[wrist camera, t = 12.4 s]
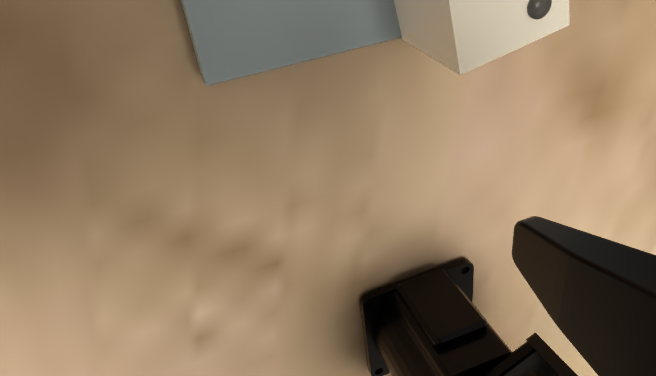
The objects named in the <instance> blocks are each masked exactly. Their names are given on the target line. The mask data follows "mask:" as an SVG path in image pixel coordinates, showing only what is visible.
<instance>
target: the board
mask: <svg viewBox="0 0 656 376" xmlns="http://www.w3.org/2000/svg"><path fill="white" fill-rule="evenodd" d="M181 3H182V7H183V11H184V14H185V18H186V22H187V25H188V29H189V32H190V36H191V40H192V43H193V47H194V51H195V54H196V58H197V62H198V65H199V69H200V73H201V76H202V78H203V80H204V82H205V85H206V86H209V85H213V84H217V83H221V82H225V81H229V80H233V79H237V78H241V77H245V76H249V75H253V74H257V73H261V72H265V71H269V70H273V69H277V68H281V67H285V66H289V65H293V64H297V63H301V62H305V61H309V60H313V59H317V58H321V57H325V56H329V55H333V54H337V53H341V52H345V51H349V50H353V49H357V48H361V47H365V46H369V45H373V44H377V43H381V42H385V41H389V40H393V39H397V38H401V37H402V35H401V31H400V26H399V22H398V17H397V12H396V8H395V3H394V0H181Z"/></svg>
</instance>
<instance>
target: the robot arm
mask: <svg viewBox="0 0 656 376" xmlns="http://www.w3.org/2000/svg"><path fill="white" fill-rule="evenodd" d="M512 257H513V260H514V262H515V264H516V266H517V268H518V269H519V271H520V272H521V274H522V275H523V276H524V278H525V279H526V281H527V282H528V284H529V285H530V287H531V288H532V290H533V291H534V293H535V294H536V296H537V297H538V299H539V300H540V302H541V303H542V305H543V306H544V308H545V309H546V311H547V312H548V314H549V315H550V316H551V318H552V319H553V321H554V322H555V323H556V325H557V326H558V327H559V329H560V330H561V331H562V332H563V334H564V335H565V336H566V337H567V339H568V340H569V341H570V342H571V343H572V345H573V346H574V347H575V348H576V349H577V350H578V352H579V353H580V354H581V355H582V356H583V358H584V359H585V360H586V361H587V362H588V364H589V365H590V366H591V367H592V368H593V370H594V371H595V372H596V373H597V374H598V376H656V255H653V254H650V253H647V252H644V251H641V250H638V249H635V248H632V247H629V246H626V245H623V244H620V243H617V242H614V241H611V240H608V239H604V238H601V237H598V236H595V235H592V234H589V233H586V232H583V231H580V230H577V229H574V228H571V227H568V226H565V225H562V224H559V223H556V222H553V221H550V220H547V219H544V218H541V217H537V216H533V217H529V218H527V219H524V220H521V221H518V222H517V223H516V225H515V227H514V235H513V246H512ZM473 271H474V267H473V264H472V263H471V262H470V261H469V260H468V259H465V258H464V259H460V260H457V261H455V262H452V263H449V264H446V265H444V266H441V267H438V268H435V269H432V270H430V271H427V272H424V273H421V274H418V275H416V276H413V277H410V278H407V279H405V280H402V281H399V282H396V283H393V284H391V285H388V286H385V287H382V288H379V289H377V290H374V291H371V292H368V293H366V294H364V295H363V296H362V297H361V299H360V308H361V316H362V324H363V331H364V339H365V347H366V355H367V363H368V370H369V372H370V374H371V375H372V376H383V375H386V374H388V373H391V375H392V376H578V375H577V374H576V373H575V372H574V371H573V370H572V369H571V368H570V367H569V366H568V365H567V364H566V363H565V362H564V361H563V360H562V359H561V358H560V357H559V356H558V355H557V354H556V353H555V352H554V351H553V350H552V349H551V348H550V347H549V346H548V345H547V344H546V343H545V342H544V341H543V340H542V339H541V338H540V337H539V336H538V335H537V334H536V333H534V334H533V335H531V336H530V337H529V338H527V339H526V340H527V342H526V343H524V344H523V345H522V346H520V347H519V348H518V349H516V350H515V351H514V352H512V351H511V350H510V349H509V348H508V346H507V345H506V344H505V343H504V342H503V340H502V339H501V338H500V337H499V336H498V334H497V333H496V332H495V331H494V330H493V328H492V327H491V326H490V325H489V323H488V322H487V321H486V319H485V318H484V317H483V315H482V314H481V313H480V312H479V311H478V309H477V308H476V307H475V306H474V304H473V303H472V295H473ZM369 302H370V303H369Z"/></svg>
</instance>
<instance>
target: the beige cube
mask: <svg viewBox="0 0 656 376" xmlns="http://www.w3.org/2000/svg"><path fill="white" fill-rule="evenodd" d="M394 3H395V8H396V12H397V17H398V22H399V26H400V31H401V35H402V40H403V41H405V42H406V43H408V44H410V45H411V46H413V47H415V48H416V49H418V50H420V51H421V52H423V53H424V54H426V55H428V56H429V57H431V58H433V59H434V60H436V61H438V62H439V63H441V64H443V65H444V66H446V67H448V68H449V69H451V70H452V71H454V72H456V73H457V74H459V75H462V74H464V73H467V72H469V71H471V70H473V69H475V68H477V67H480V66H482V65H484V64H486V63H488V62H490V61H493V60H495V59H497V58H499V57H501V56H503V55H506V54H508V53H510V52H512V51H514V50H516V49H519V48H521V47H523V46H525V45H527V44H530V43H532V42H534V41H536V40H538V39H540V38H543V37H545V36H547V35H549V34H551V33H553V32H556V31H558V30H560V29H562V28H564V27H566V26H569V0H394Z"/></svg>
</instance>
